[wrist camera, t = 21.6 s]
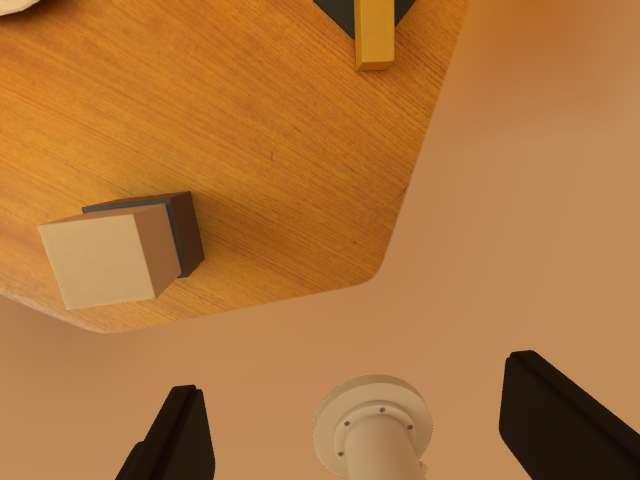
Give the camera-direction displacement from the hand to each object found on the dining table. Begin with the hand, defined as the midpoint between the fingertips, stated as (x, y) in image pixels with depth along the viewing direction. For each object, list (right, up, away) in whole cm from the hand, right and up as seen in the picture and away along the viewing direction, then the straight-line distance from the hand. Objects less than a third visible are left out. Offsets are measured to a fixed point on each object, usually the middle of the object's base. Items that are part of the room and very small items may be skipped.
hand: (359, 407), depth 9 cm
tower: (-19, +6, +26) cm, 33 cm away
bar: (+4, +30, +22) cm, 37 cm away
